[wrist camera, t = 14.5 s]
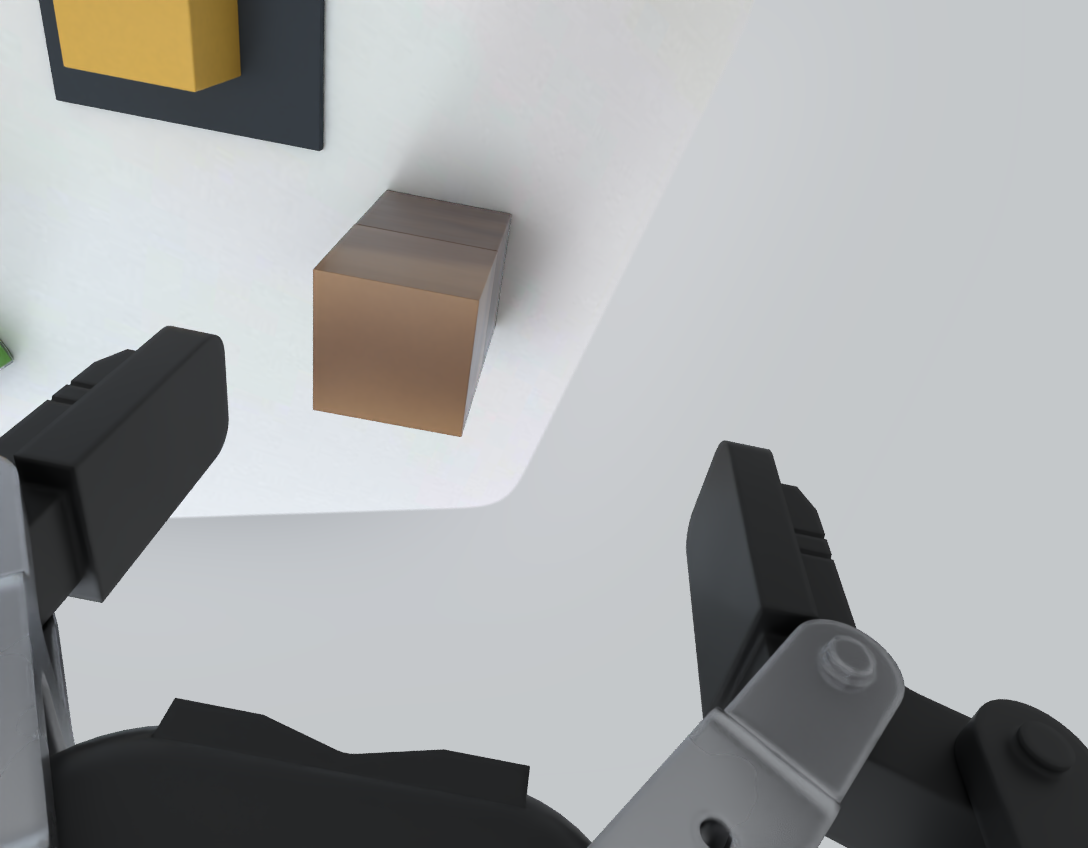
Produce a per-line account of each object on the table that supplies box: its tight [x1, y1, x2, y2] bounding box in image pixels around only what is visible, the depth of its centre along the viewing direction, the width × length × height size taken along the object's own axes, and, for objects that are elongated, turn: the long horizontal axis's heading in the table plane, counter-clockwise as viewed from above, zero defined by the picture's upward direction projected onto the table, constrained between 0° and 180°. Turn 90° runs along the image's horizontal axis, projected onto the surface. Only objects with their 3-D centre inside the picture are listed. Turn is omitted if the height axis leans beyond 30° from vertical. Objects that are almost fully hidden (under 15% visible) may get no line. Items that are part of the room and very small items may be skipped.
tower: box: [313, 190, 511, 437], centre depth 38 cm, size 7×7×12 cm
